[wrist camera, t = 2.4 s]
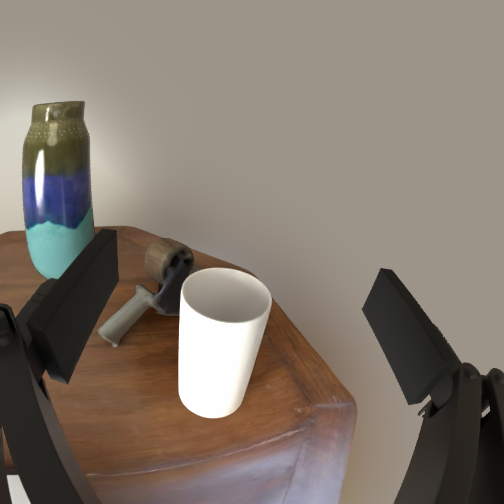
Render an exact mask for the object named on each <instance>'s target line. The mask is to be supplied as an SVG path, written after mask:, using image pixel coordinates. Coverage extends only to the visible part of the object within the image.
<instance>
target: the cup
mask: <svg viewBox="0 0 504 504" xmlns="http://www.w3.org/2000/svg"><path fill="white" fill-rule="evenodd" d="M271 305H272V297H271V294H270V292H269V290H268V288H267V287H266V286H265V285H264V284H263V283H262V282H261V281H260V280H258V279H257V278H255V277H253V276H251V275H249V274H247V273H245V272H242V271H238V270H234V269H229V268H208V269H203V270H200V271H197V272H195V273H193V274H191V275H190V276H188V277H187V278H186V280H185V281H184V283H183V285H182V289H181V301H180V325H179V395H180V398H181V400H182V402H183V403H184V405H185V406H186V407H187V408H188V409H189V410H191V411H192V412H194V413H195V414H197V415H200V416H203V417H208V418H220V417H225V416H228V415H230V414H232V413H233V412H235V411H236V410H237V409H238V408H239V407H240V405H241V403H242V401H243V398H244V395H245V391H246V388H247V385H248V382H249V379H250V376H251V373H252V369H253V366H254V363H255V360H256V356H257V353H258V350H259V347H260V343H261V340H262V337H263V333H264V330H265V327H266V323H267V320H268V316H269V313H270V309H271Z"/></svg>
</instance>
